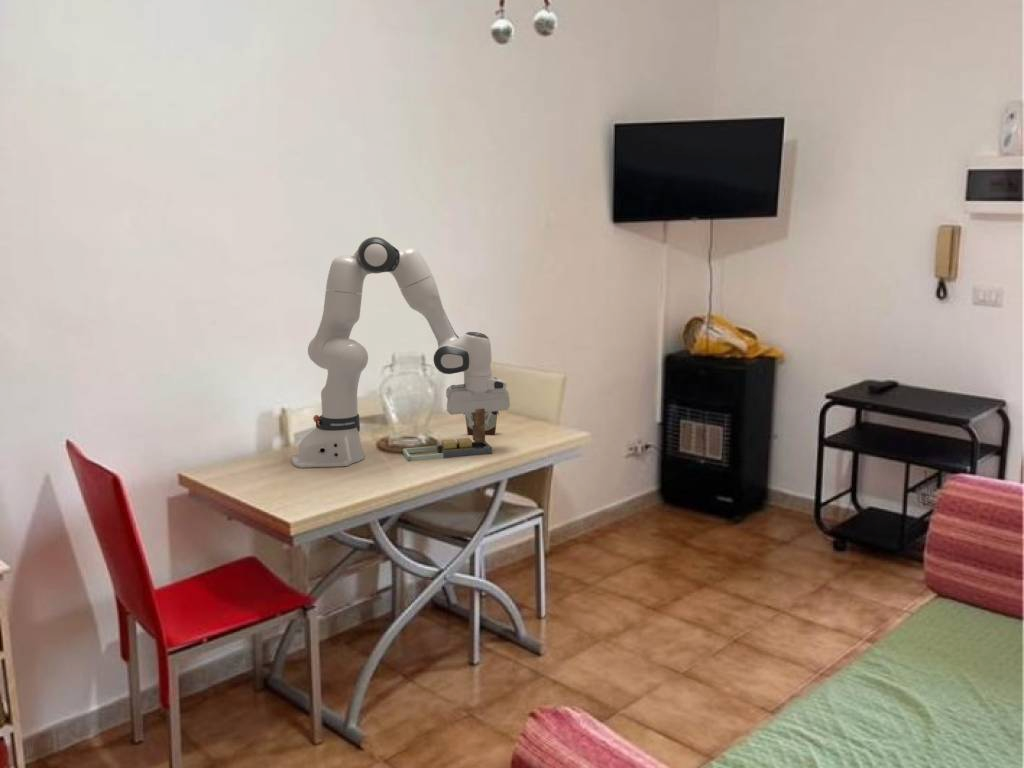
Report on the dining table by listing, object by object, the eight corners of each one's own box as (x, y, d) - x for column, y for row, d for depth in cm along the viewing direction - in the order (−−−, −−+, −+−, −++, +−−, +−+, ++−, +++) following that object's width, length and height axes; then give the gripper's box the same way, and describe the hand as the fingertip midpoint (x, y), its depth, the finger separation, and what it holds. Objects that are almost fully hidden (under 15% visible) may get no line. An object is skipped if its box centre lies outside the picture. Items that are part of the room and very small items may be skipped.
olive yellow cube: (459, 454, 295) (459, 441, 294) (456, 450, 299) (456, 438, 298) (472, 453, 296) (471, 440, 296) (468, 449, 300) (468, 437, 299)
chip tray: (408, 464, 288) (408, 456, 287) (402, 455, 297) (402, 448, 297) (443, 461, 291) (443, 453, 290) (436, 453, 300) (436, 445, 300)
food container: (501, 433, 324) (500, 405, 322) (499, 438, 318) (498, 409, 316) (466, 433, 326) (465, 405, 324) (463, 437, 320) (463, 409, 318)
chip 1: (444, 455, 294) (444, 443, 293) (441, 452, 298) (441, 440, 297) (456, 454, 295) (456, 442, 294) (453, 451, 299) (453, 439, 298)
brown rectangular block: (476, 442, 297) (475, 409, 294) (472, 439, 300) (472, 406, 298) (485, 441, 297) (484, 408, 295) (481, 438, 301) (481, 405, 299)
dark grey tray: (443, 461, 291) (443, 452, 290) (436, 453, 300) (436, 444, 300) (492, 456, 296) (492, 447, 295) (484, 448, 305) (484, 440, 304)
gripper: (448, 387, 289) (449, 430, 292) (511, 382, 295) (511, 425, 298) (443, 383, 295) (444, 425, 298) (505, 379, 301) (505, 420, 304)
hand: (478, 425), depth 298 cm, fingers closed on brown rectangular block, 3 cm apart
